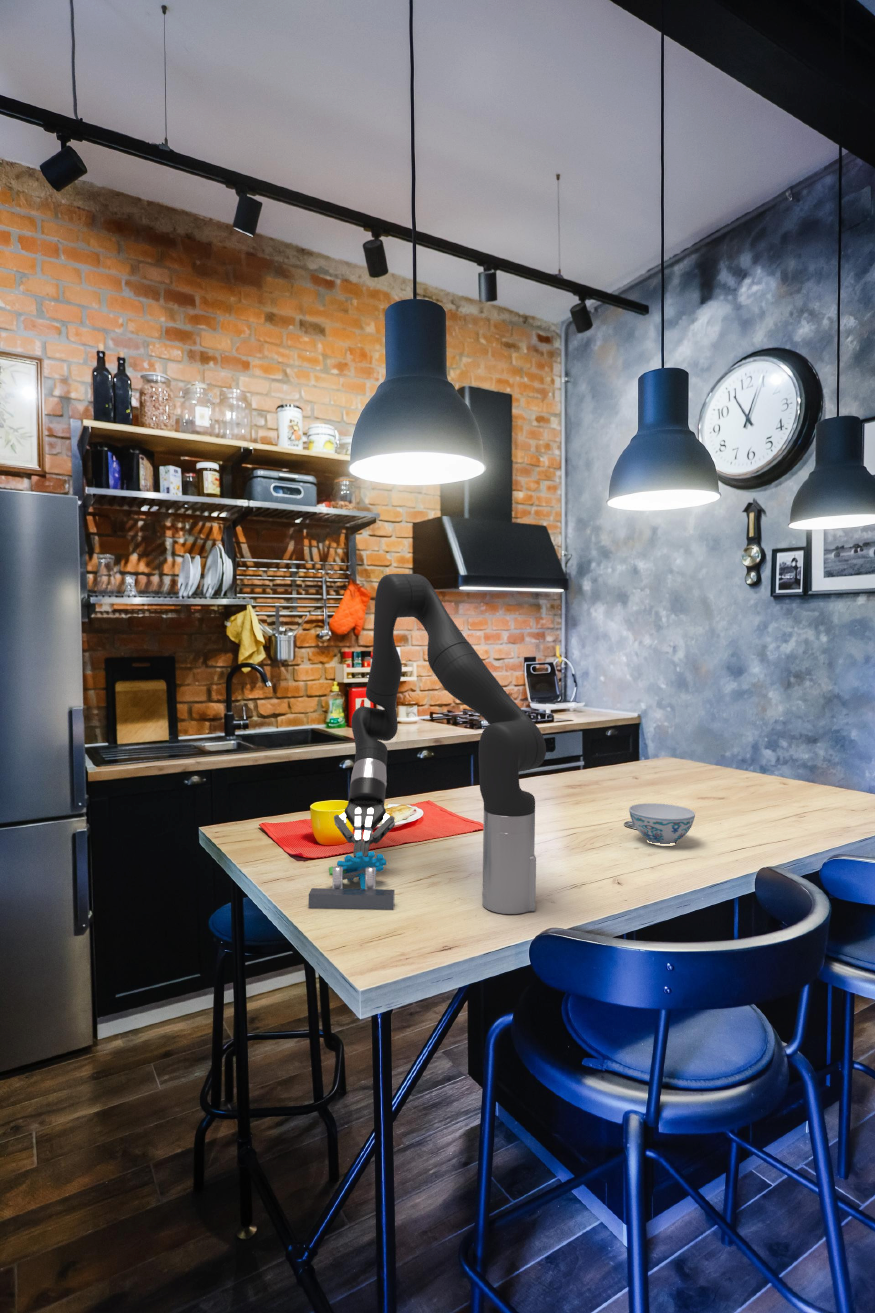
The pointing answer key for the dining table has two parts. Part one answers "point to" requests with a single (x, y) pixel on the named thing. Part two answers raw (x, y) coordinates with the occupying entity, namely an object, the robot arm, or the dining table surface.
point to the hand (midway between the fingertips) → (360, 860)
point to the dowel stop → (352, 894)
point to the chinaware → (661, 821)
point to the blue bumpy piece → (360, 866)
